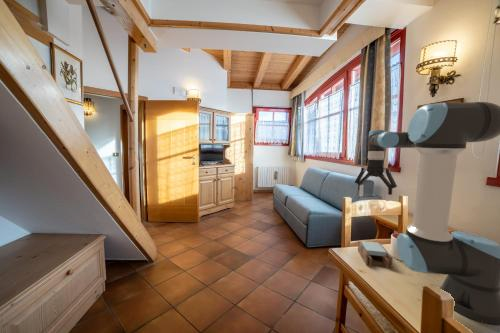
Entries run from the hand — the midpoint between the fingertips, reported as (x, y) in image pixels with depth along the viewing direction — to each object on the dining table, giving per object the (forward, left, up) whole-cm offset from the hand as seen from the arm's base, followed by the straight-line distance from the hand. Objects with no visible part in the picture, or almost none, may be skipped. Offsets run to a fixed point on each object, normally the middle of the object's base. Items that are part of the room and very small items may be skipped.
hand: (373, 198), depth 114 cm
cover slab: (-18, +5, -21) cm, 28 cm away
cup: (-15, -9, -25) cm, 30 cm away
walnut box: (-20, +5, -25) cm, 32 cm away
